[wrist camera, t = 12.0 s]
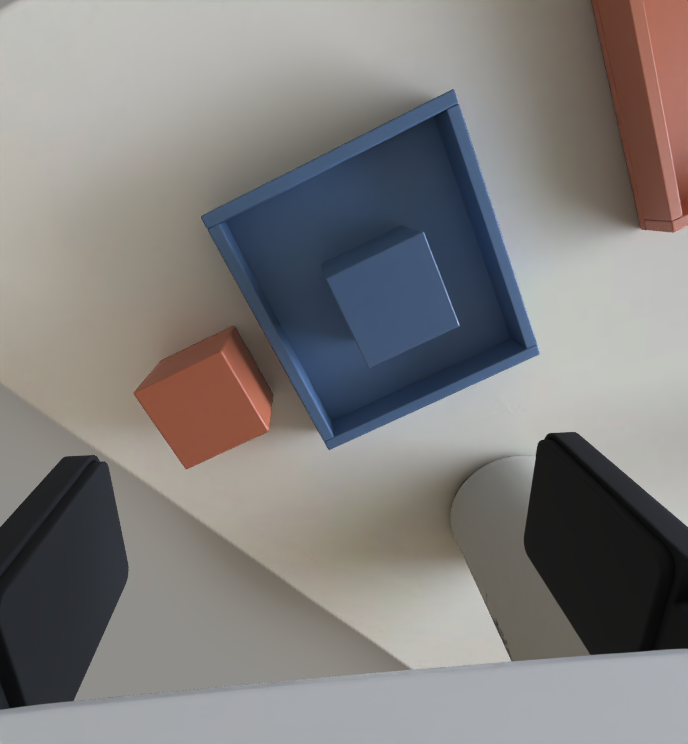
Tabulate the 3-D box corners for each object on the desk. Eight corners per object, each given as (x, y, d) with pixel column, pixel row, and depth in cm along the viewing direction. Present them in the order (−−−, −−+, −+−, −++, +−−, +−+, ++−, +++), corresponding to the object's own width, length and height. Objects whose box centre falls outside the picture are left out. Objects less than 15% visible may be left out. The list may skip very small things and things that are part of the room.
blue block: (320, 264, 24) (325, 278, 20) (401, 224, 24) (423, 230, 20) (357, 340, 26) (368, 369, 22) (433, 304, 26) (460, 326, 21)
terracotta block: (159, 360, 26) (132, 393, 21) (234, 324, 25) (221, 350, 21) (203, 428, 27) (185, 470, 23) (274, 394, 27) (269, 431, 23)
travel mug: (550, 432, 29) (889, 750, 13) (581, 527, 32) (893, 893, 15) (430, 484, 30) (601, 857, 13) (471, 573, 33) (655, 975, 16)
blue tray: (209, 214, 23) (199, 216, 21) (439, 98, 23) (454, 88, 20) (326, 430, 28) (328, 450, 26) (520, 341, 27) (540, 354, 25)
